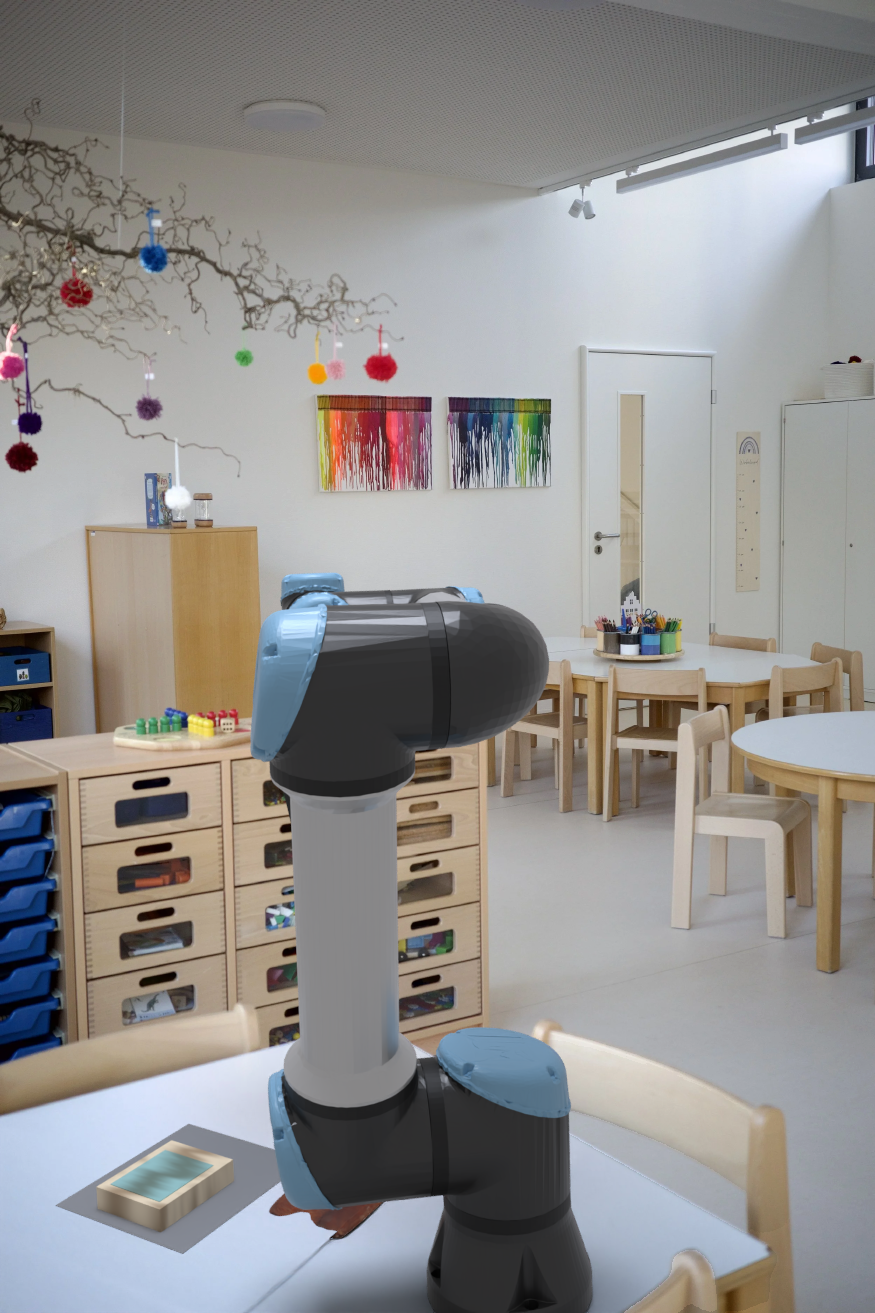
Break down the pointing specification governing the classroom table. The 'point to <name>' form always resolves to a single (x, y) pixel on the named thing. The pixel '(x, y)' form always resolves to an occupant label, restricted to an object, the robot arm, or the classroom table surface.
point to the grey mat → (250, 1182)
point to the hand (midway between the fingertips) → (326, 895)
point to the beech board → (165, 1185)
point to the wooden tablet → (328, 1215)
